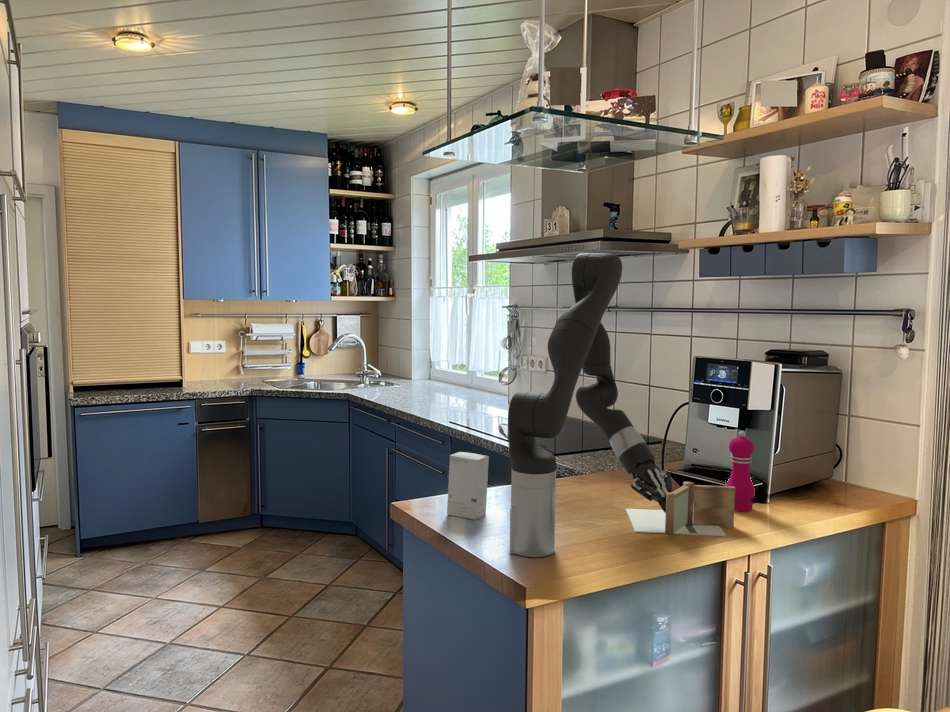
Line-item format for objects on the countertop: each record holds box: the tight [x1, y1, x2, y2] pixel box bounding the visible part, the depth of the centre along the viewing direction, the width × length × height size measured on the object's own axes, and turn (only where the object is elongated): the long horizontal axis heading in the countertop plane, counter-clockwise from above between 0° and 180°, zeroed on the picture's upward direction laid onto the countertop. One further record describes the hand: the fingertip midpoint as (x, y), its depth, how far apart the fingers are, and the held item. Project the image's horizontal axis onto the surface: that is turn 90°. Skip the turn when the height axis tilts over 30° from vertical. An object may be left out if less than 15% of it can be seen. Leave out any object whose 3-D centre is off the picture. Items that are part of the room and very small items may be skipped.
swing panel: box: [664, 485, 689, 536], centre depth 153 cm, size 11×2×9 cm, turn 143°
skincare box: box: [446, 451, 490, 521], centre depth 165 cm, size 8×6×15 cm
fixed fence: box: [682, 481, 735, 528], centre depth 158 cm, size 12×2×10 cm, turn 84°
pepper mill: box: [725, 430, 755, 513], centre depth 172 cm, size 7×7×20 cm
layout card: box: [625, 508, 727, 537], centre depth 161 cm, size 20×17×1 cm
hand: (672, 513), depth 154 cm, fingers closed
